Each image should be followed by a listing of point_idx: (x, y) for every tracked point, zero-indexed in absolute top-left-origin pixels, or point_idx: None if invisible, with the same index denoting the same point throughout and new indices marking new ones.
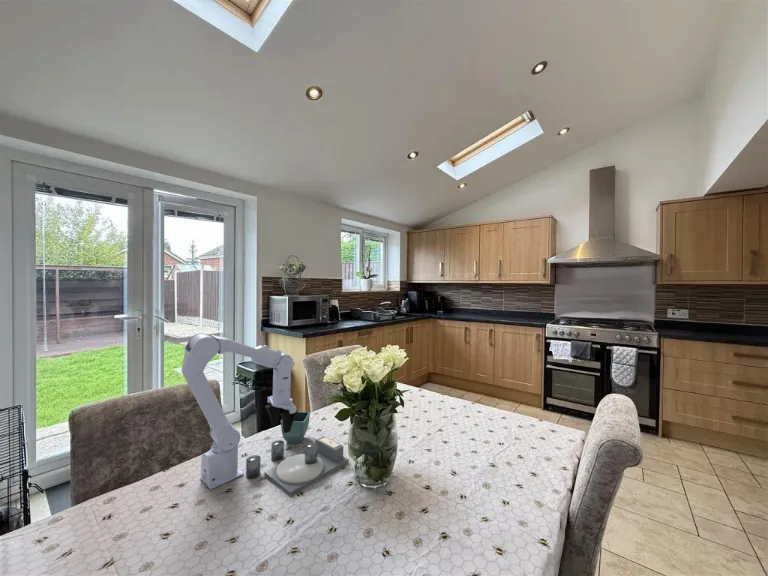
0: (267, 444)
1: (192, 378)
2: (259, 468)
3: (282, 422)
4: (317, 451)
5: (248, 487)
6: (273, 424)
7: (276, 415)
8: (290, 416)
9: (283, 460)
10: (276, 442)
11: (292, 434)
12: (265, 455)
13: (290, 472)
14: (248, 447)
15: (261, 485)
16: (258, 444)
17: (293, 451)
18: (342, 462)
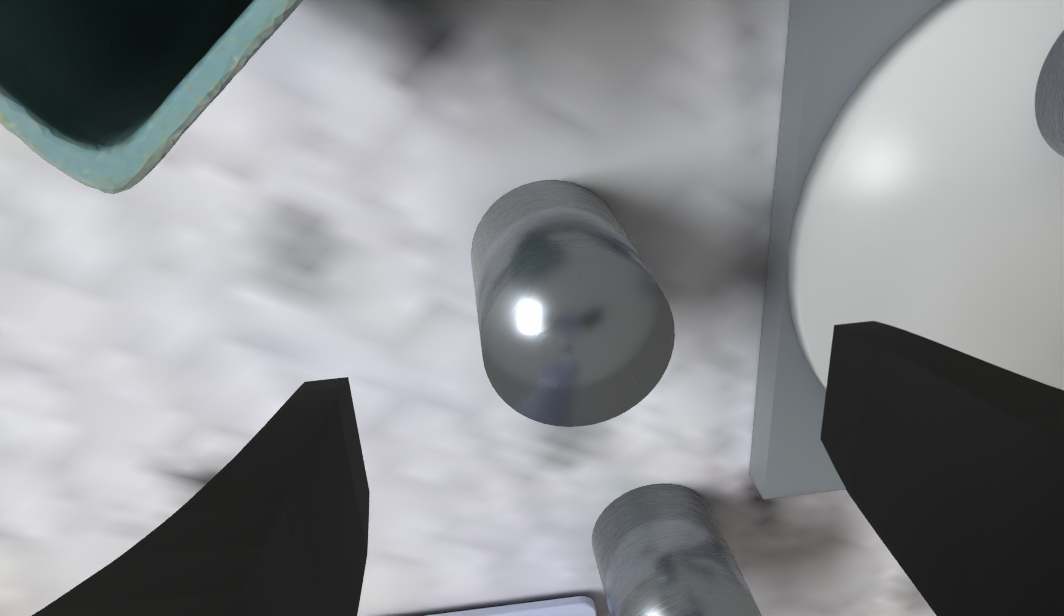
0: (101, 205)
1: None
2: (730, 550)
3: (163, 157)
4: None
5: (782, 601)
6: (361, 497)
7: (307, 577)
8: None
9: (807, 325)
10: (541, 348)
11: None
12: (388, 335)
13: (1056, 369)
14: (45, 415)
15: (845, 529)
16: (27, 297)
17: (554, 14)
18: None
